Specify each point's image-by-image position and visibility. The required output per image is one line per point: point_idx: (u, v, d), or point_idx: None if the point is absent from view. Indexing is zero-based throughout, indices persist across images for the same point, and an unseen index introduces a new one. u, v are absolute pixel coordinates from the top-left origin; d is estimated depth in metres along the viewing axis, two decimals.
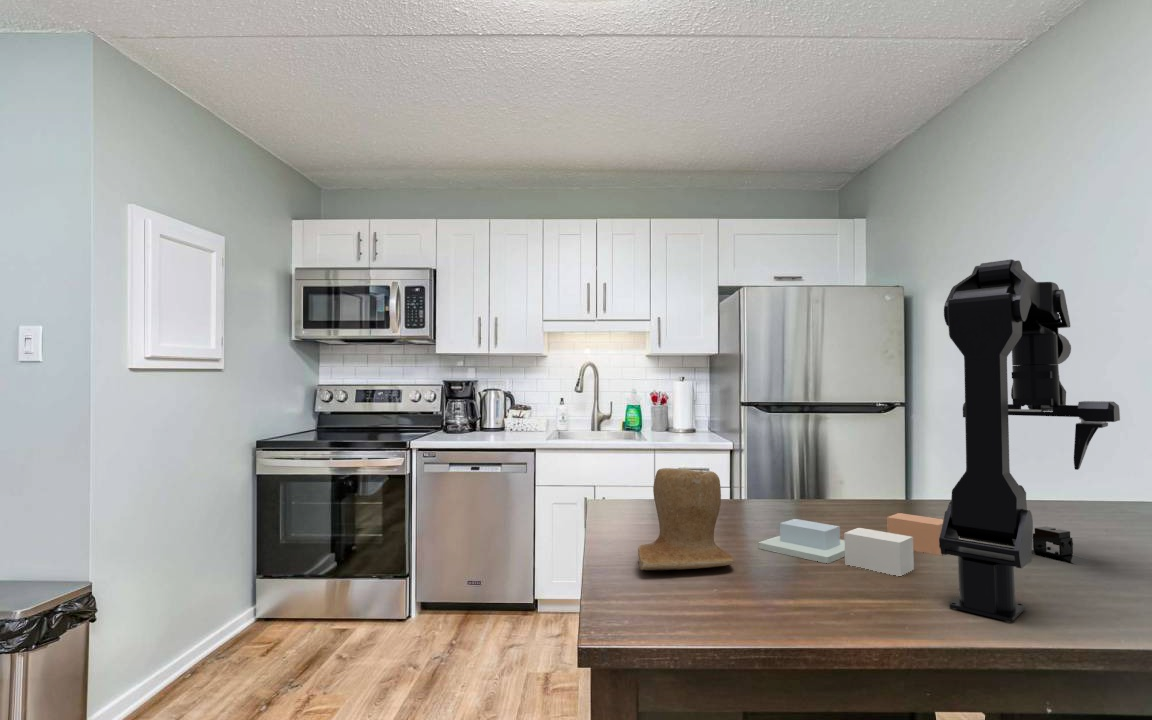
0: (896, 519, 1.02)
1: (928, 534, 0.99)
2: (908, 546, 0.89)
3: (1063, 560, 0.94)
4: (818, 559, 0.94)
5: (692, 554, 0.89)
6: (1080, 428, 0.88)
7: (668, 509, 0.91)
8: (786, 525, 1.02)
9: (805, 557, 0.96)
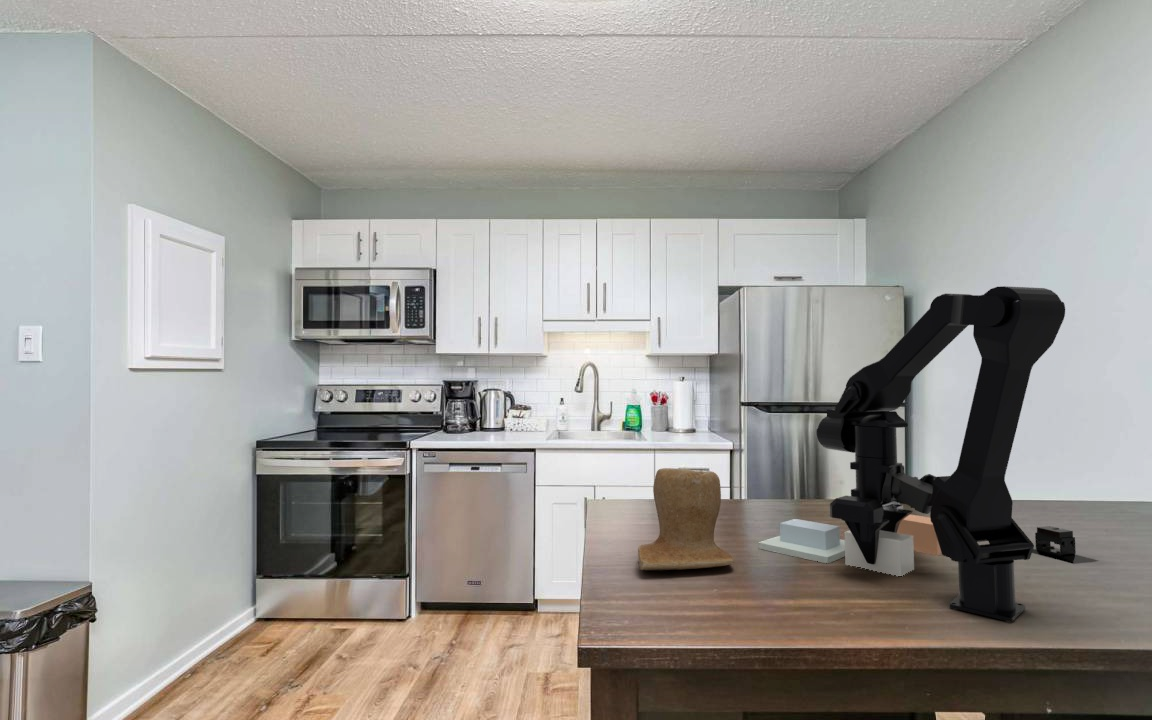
0: None
1: (925, 534, 0.99)
2: (908, 545, 0.89)
3: (1063, 559, 0.94)
4: (818, 559, 0.94)
5: (692, 554, 0.89)
6: None
7: (668, 509, 0.91)
8: (786, 525, 1.02)
9: (805, 557, 0.96)
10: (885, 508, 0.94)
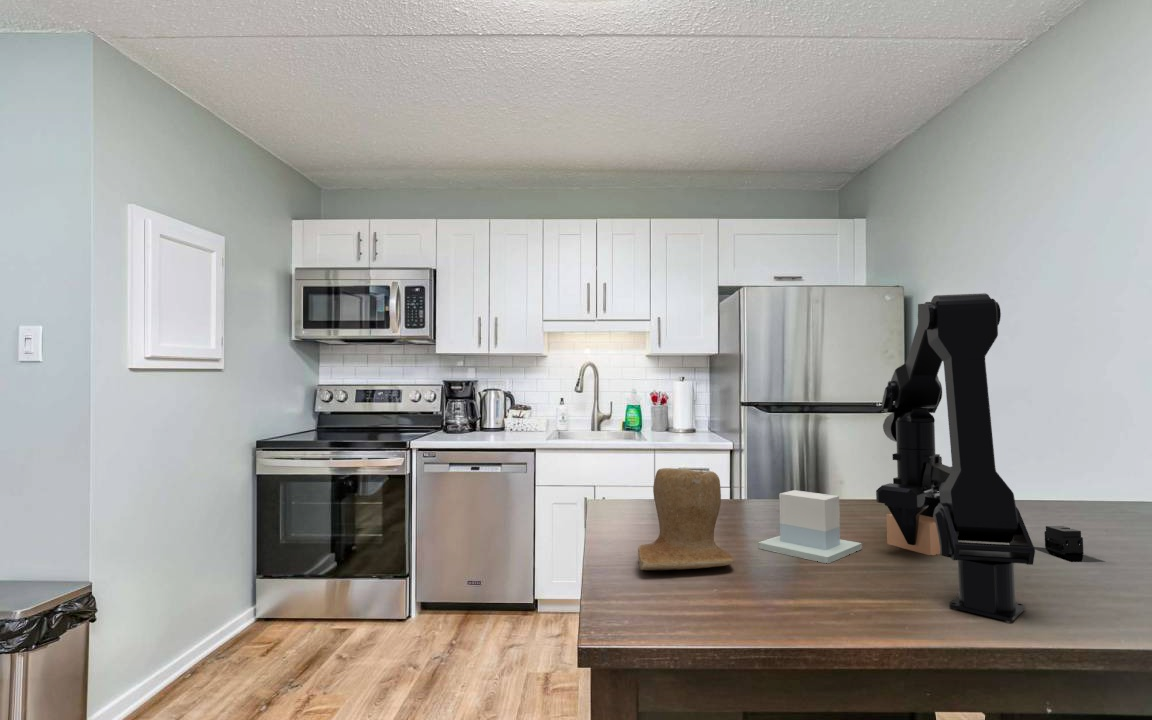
0: None
1: (920, 533, 0.99)
2: (834, 504, 0.99)
3: (1063, 558, 0.95)
4: (818, 559, 0.94)
5: (692, 554, 0.89)
6: None
7: (668, 509, 0.91)
8: (786, 525, 1.02)
9: (805, 557, 0.96)
10: None
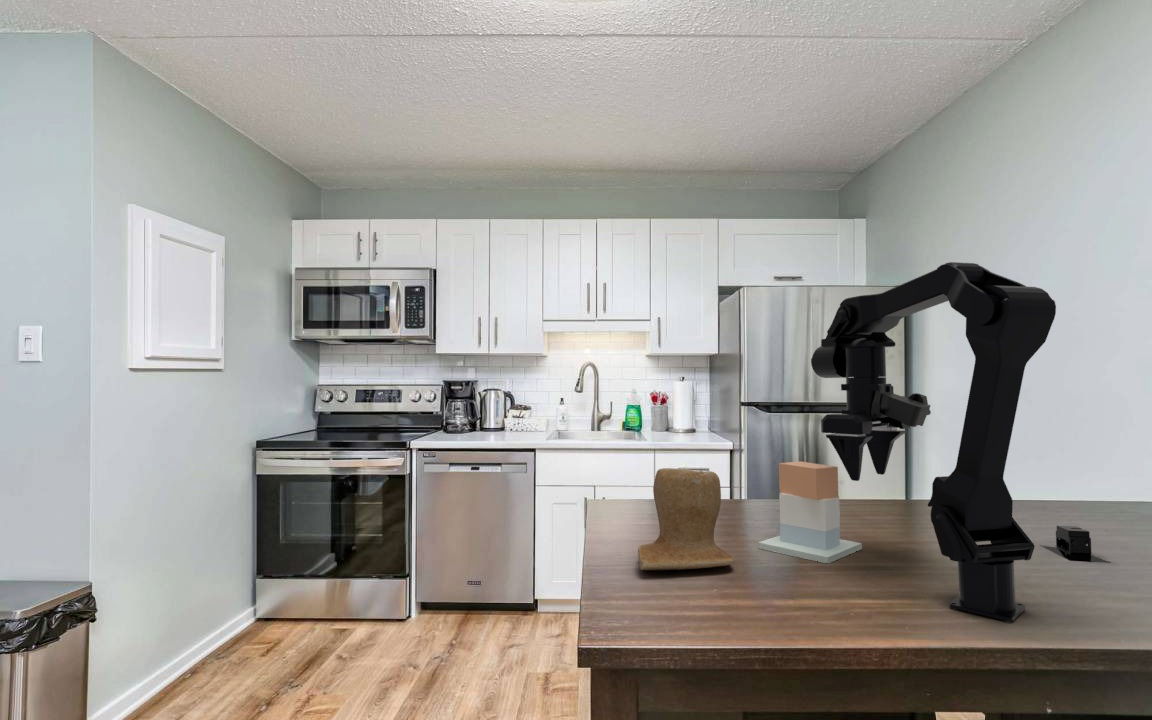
0: (785, 465, 1.04)
1: (807, 478, 0.99)
2: (834, 504, 0.99)
3: (1066, 556, 0.96)
4: (818, 559, 0.94)
5: (692, 554, 0.89)
6: None
7: (668, 509, 0.91)
8: (786, 525, 1.02)
9: (805, 557, 0.96)
10: (880, 429, 0.99)
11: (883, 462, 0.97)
